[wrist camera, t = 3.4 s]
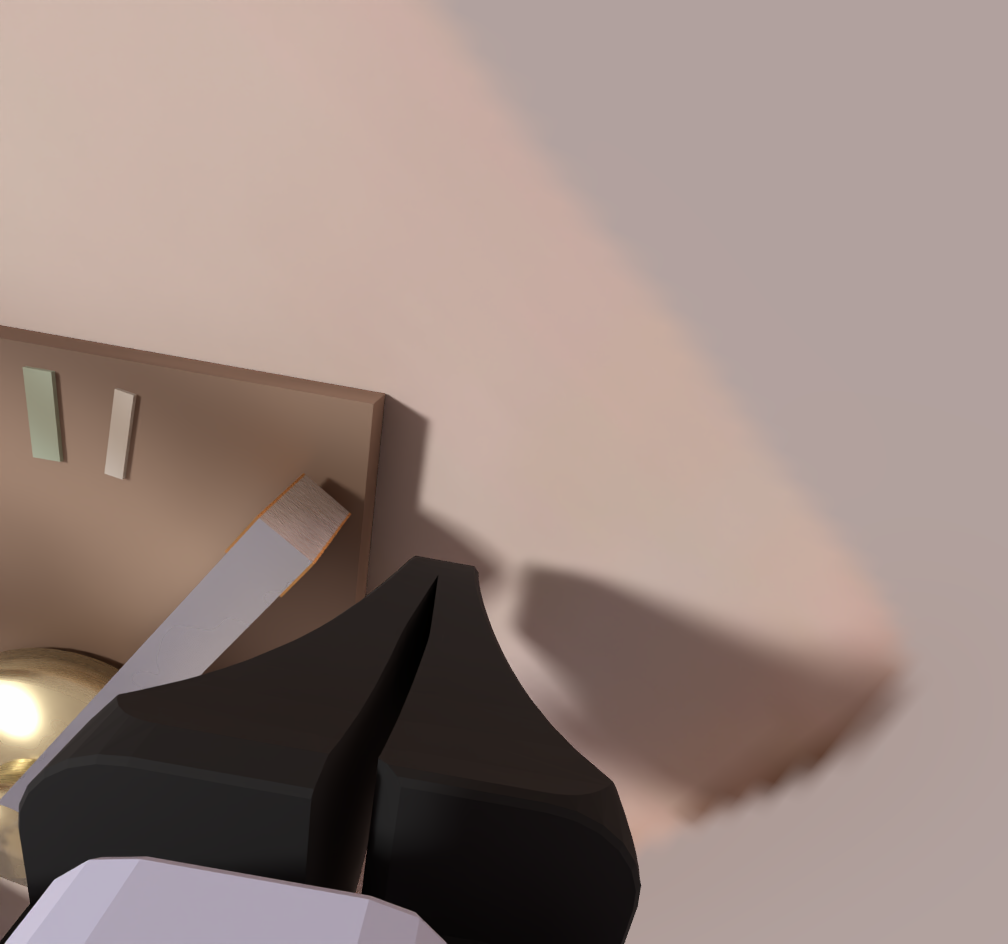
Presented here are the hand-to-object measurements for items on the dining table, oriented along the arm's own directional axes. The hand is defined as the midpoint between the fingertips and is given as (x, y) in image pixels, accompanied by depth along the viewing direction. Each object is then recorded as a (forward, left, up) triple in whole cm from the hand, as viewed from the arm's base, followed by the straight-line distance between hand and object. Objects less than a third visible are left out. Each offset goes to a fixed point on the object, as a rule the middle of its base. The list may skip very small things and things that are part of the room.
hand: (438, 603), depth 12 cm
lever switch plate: (-4, +8, -2) cm, 9 cm away
